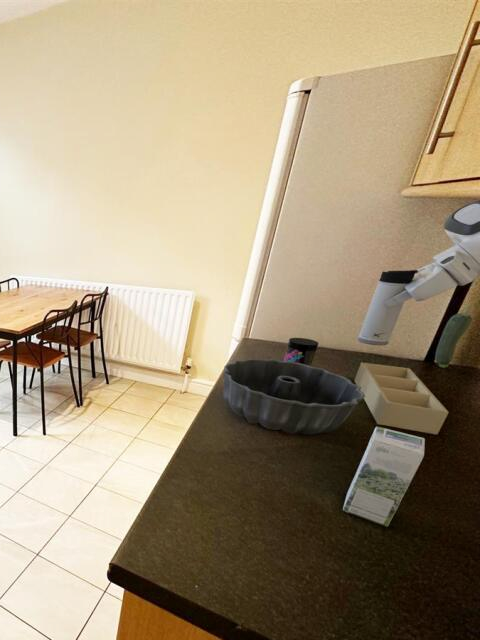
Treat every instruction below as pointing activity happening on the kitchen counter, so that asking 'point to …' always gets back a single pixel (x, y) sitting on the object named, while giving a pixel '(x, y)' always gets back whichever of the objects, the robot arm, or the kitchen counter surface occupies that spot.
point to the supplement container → (300, 351)
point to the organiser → (400, 398)
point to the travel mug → (384, 308)
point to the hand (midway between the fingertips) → (384, 301)
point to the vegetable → (453, 335)
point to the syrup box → (384, 475)
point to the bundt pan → (289, 395)
